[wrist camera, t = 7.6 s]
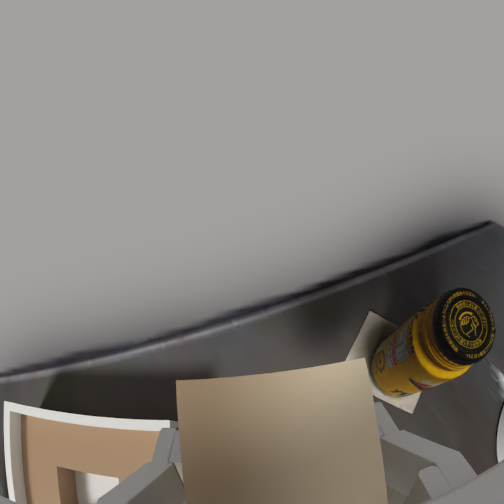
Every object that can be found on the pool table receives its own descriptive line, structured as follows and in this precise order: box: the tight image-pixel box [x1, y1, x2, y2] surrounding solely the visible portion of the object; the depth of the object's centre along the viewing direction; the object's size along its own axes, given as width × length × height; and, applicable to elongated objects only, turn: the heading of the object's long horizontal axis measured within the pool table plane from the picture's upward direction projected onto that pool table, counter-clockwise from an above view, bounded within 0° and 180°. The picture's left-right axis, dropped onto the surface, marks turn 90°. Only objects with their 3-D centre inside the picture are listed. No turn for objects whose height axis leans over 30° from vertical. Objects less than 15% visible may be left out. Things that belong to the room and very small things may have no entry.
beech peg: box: [176, 358, 388, 504], centre depth 9 cm, size 4×4×10 cm
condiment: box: [345, 288, 496, 413], centre depth 21 cm, size 7×8×12 cm
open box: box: [4, 401, 186, 504], centre depth 16 cm, size 16×16×6 cm
